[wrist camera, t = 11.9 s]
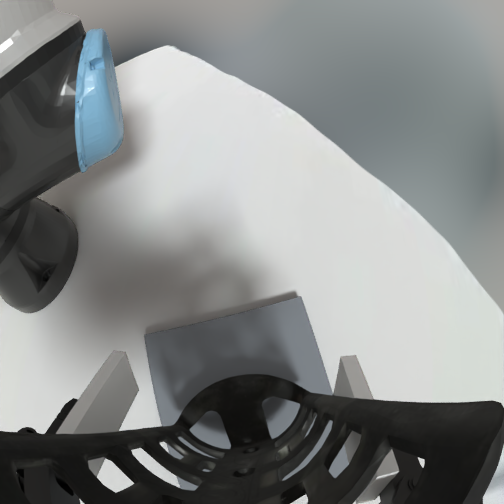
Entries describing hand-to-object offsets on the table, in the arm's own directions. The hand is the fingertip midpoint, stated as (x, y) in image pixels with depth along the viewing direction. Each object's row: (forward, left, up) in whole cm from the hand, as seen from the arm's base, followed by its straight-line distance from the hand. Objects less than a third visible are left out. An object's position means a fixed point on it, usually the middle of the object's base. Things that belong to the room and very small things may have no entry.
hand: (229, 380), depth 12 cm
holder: (+3, -1, -9) cm, 10 cm away
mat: (+3, -1, -11) cm, 12 cm away
